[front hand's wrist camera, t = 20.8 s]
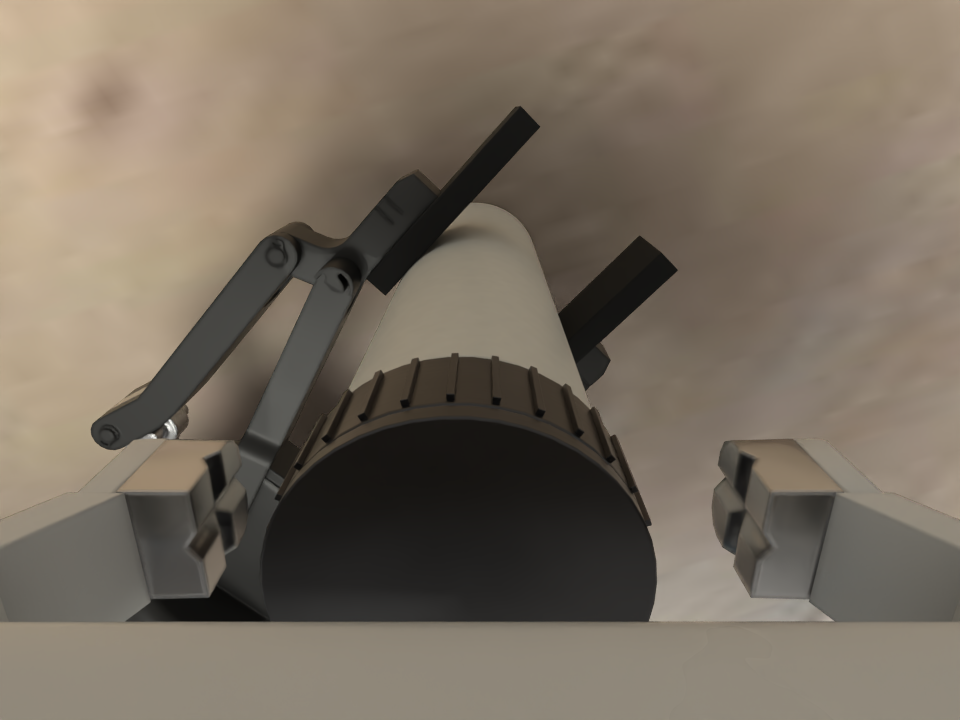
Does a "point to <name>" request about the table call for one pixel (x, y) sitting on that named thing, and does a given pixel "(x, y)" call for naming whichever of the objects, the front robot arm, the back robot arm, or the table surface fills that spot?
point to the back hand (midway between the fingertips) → (593, 187)
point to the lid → (459, 506)
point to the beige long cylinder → (475, 304)
